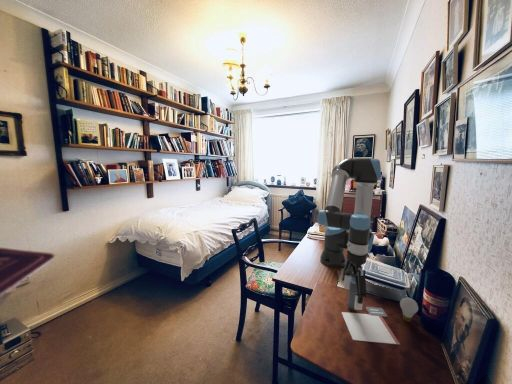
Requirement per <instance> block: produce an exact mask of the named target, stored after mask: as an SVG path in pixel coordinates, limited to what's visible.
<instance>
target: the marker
mask: <svg viewBox="0 0 512 384" xmlns="http://www.w3.org/2000/svg"><path fill="white" fill-rule="evenodd" d="M356 293H357V290H356V283H355V278H354V277H353V276H352V277H350V284H349V289H348V293H347V294H348V295H347V297H348V298H347V304H346V305H347V309H348V310H349V311H355V309H354V306H355V297H356V295H355V294H356Z"/></svg>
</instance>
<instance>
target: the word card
mask: <svg viewBox="0 0 512 384" xmlns="http://www.w3.org/2000/svg"><path fill="white" fill-rule="evenodd" d="M365 309H366V311H367V313H368V314H370V315H374V316H382V318H383V317H384V318H388V317H389V316H388V315H387V313H386V312H385V310H384V309H383V308H382V307H373V306H365Z"/></svg>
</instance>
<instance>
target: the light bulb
mask: <svg viewBox="0 0 512 384" xmlns="http://www.w3.org/2000/svg"><path fill="white" fill-rule="evenodd" d="M399 301H400V302H399V305H400V308H401V310H402V319H403V321H405V322H406V323H409V322H410V323H411V322H412V317H414V315H415V314H416V313H417V312H418V311H419V306H418V303H417V302H416V300H414V299H413V298H411V297H407V296H405V297H403V298H401V299H400V300H399Z"/></svg>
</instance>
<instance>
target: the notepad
mask: <svg viewBox="0 0 512 384" xmlns="http://www.w3.org/2000/svg"><path fill="white" fill-rule="evenodd" d="M341 314H342V318H343V320H344V321H345V324H346V327H347V329H348V332H349V334H350V337H351V339H352V341H357V342H358V341H360V342H371V343H379V344H380V343H381V344H390V345H401V343H400V341H399V340H398V339H397V337H396V336H395V334H394V333H393V331H392V329H391V328H390V327H389V325H388V324H387V322H386V320H385V319H384V318H383V317H382V316H374V315H370V314H369V313H368V314H367V313H359V312H345V311H342V312H341Z"/></svg>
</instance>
